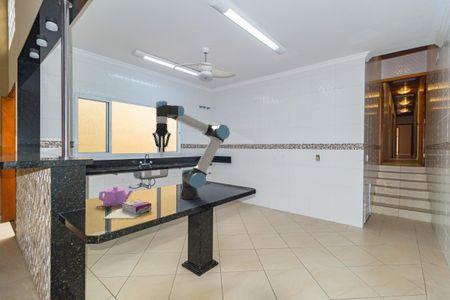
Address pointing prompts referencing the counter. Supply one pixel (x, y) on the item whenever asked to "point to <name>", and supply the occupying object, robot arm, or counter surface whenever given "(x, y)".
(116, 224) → the counter surface
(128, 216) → the mat
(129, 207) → the candy bar box
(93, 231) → the counter surface
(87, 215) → the counter surface
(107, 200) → the teakettle
